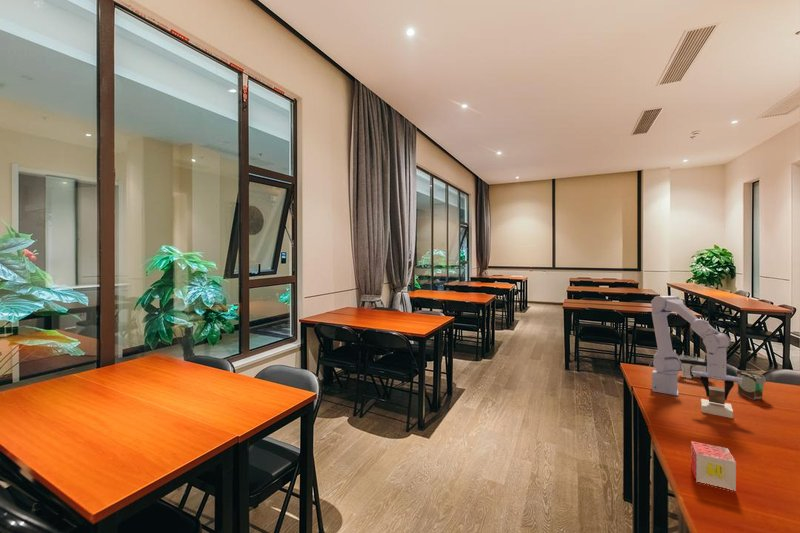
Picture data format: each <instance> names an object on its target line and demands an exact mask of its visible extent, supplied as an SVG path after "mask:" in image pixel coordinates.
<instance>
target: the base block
mask: <svg viewBox="0 0 800 533" xmlns="http://www.w3.org/2000/svg"><path fill="white" fill-rule="evenodd" d="M700 405H701V408H700V409H701V413H703V414H709V415H714V416H715V415H716V416H719V417H725V418H730V419H734V409H733V406H732V404H731V403H728V402H727V403H726V402H725V405H724V404H718V403H713V402H709V399H704V398H700Z"/></svg>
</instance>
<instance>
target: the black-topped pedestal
mask: <svg viewBox="0 0 800 533" xmlns="http://www.w3.org/2000/svg"><path fill="white" fill-rule="evenodd" d="M678 357H679V360H680V361H681V364H682V368H681V378H682V377H686V378H685V379H691V378H692V379H693V376H692V375H693V371H700V372H707V352H706V354H705V355H703V357H699V355H698V354H697V353H691V352H689V353H688V352H684V351H682V354H680V355H678Z"/></svg>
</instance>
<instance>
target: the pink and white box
mask: <svg viewBox="0 0 800 533" xmlns="http://www.w3.org/2000/svg"><path fill="white" fill-rule="evenodd" d="M690 448H691V449H690V450H691V452H690V455H691V456H690V458H691V459H690V468H691V471H692V473H693V474H692V475H693V476H694V479H695V478H696V480H695V482H696V483H697V482H701V483H705V484H706V483H707V484H710V485H714V486H719V487H723V488H727V489H730V490H734V491H736V492H737V461H736V460H735V457H734V456H733V455H732V454H731V451H730V450H729V448H728V447H727V448H726V447H723V446H717V445H713V444H708V443H703V442H698V441H693V440H691V442H690ZM701 483H700V484H701ZM705 484H704V485H705Z"/></svg>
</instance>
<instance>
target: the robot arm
mask: <svg viewBox="0 0 800 533" xmlns="http://www.w3.org/2000/svg"><path fill="white" fill-rule="evenodd" d="M650 303H651V304H650V305H651V318H652V323H653V329H654V334H655V341H656V346H657V351H656V352H655V353H654V354H653V362H652V365H653V368H654V369H655V370H652V372H651V380H652V381H651V383H650V384H651V391H652V392H656V393H661V394H666V395H672V396H679V389H678V374H679V372H680V371H682V363H681V361H680V360H679V354H678V353H676V352H675V351H674V349H673V345H672V338H671V333H670V328H669V323H668V316H669V315H670V314H671V313H672V312H675V313H676V314H678V315H679V316H680V317H681V318H683V319H684V320H685V321H686V322H688V323H689V324H690V329H692V330H693V332H695V333H696V334H697V335H698V336H699V337H700V338H702V343H703V345H704V346H705V351H706V353H707V366H706V372H700V371H693V376H692V378H693V377H694V378H700V381H701V383H702V386H703V387H704V390H705V394H706V397H707V398H708V397H709V386H710V385H709V383H710V381H709V379H710V380H715V381H722V382H723V383H724V384H723V385H724V388H723V389H724V391H725V401H727V400H728V396H729V393H730V391H731V390H732V389H733V387H734V386H735V384H734V383H736V384H737V383H739V384H742V378H739V377H737V376H733V375H729V374H727V348H729V346H731V338H730V337H729V336H728V334H726V333H724V332H720V331H718V329H716V328H714V327H713V326H712V325H711V324H710V323H709V321H707V320H706V319H703V318H698V317H697V316H696V315H695V314H694V313H693V312H692V311H691V309H689V308H688V307H687V305H685V304H684V300H682V299H681V298H680V297H679V296H678V295H656V296H654V297H653V299H651V301H650Z"/></svg>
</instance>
